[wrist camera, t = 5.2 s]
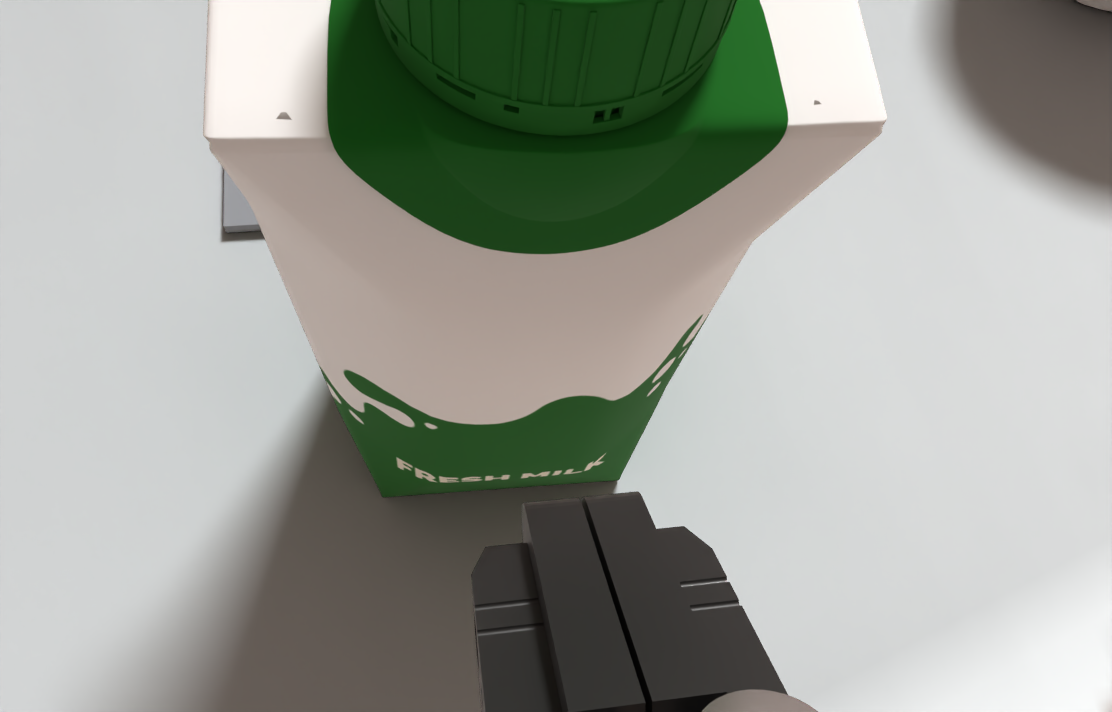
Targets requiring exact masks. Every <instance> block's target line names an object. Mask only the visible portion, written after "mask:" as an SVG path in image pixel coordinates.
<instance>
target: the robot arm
mask: <svg viewBox="0 0 1112 712" xmlns="http://www.w3.org/2000/svg"><path fill="white" fill-rule="evenodd" d="M522 536H523V543H519V544H509V545H500V546H490V547H485V549H484V551H483V553H482V555H481V557H480V559H479V561H478V563H477V565H476V566H475V568H474V570H473V572H472V574H471V577H472V592H473V607H474V621H475V636H476V651H477V665H478V677H479V687H480V697H481V707H482V712H818V711H816V710H815V709H814V708H812V707H811V706H809V705H808V704H806V703H804V702H802V701H800V700H798V699H796V698H794V697H791V696H789V695H788V694H787V692H786V690H785V688H784V686H783V684H782V682H781V681H780V679H779V677H778V675H777V673H776V671H775V669H774V667H773V665H772V663H771V661H770V659H769V657H768V655H767V654H766V652H765V650H764V648H763V646H762V644H761V642H760V640H759V638H758V636H757V634H756V632H755V630H754V628H753V627H752V625H751V623H750V621H749V619H748V617H747V615H746V613H745V611H744V609H743V607H742V606H739V600H738V598H737V596H736V594H735V592H734V590H733V588H732V586H731V584H730V582H727V576H726V574H725V573H724V571H723V569H722V567H721V565H720V563H719V561H718V559H717V557H716V555H715V553H714V551H713V549H712V548H711V547H709V546H708V545H707V544H706V543H704V542H703V541H702V540H701V539H699V538H698V537H697V536H695V535H694V534H693V533H692V532H690V531H689V530H688V529H687V528H685V527H684V526H681V527H672V528H662V529H656V528H655V525H654V523H653V521H652V518H651V516H650V514H649V512H648V509H647V507H646V505H645V502H644V500H643V498H642V496H641V494H640V493H639V492H628V493H618V494H608V495H598V496H587V497H582V499H581V500H580V499H579V498H569V499H559V500H549V501H538V502H528V503H523V504H522Z"/></svg>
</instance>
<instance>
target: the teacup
mask: <svg viewBox="0 0 1112 712" xmlns="http://www.w3.org/2000/svg"><path fill="white" fill-rule="evenodd" d="M1076 1H1078V2H1079V3H1081V4H1084V5H1087V6H1091V7H1094V8H1097V9H1101V10H1106V11H1112V0H1076Z"/></svg>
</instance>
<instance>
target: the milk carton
mask: <svg viewBox="0 0 1112 712" xmlns="http://www.w3.org/2000/svg"><path fill="white" fill-rule="evenodd" d="M886 120H887V115H886V111H885V107H884V102H883V98H882V94H881V90H880V86H879V82H878V78H877V74H876V70H875V66H874V62H873V59H872V55H871V51H870V47H869V43H868V39H867V35H866V31H865V27H864V24H863V20H862V16H861V12H860V8H859V4H858V0H208V21H207V46H206V72H205V97H204V123H203V136H204V137H205V138H206V139H207V140H208V141H209V146H210V151H211V152H212V154H213V155H214V156H215V157H216V159H217V160H218V161H219V163H220V164H221V165H222V167H223V168H224V169H225V171H226V172H227V173H228V175H229V176H230V177H231V179H232V180H233V181H234V183H235V184H236V185H237V187H238V188H239V190H240V191H241V192H242V194H243V195H244V196H245V198H246V199H247V201H248V203H249V204H250V206H251V208H252V210H253V212H254V214H255V217H256V219H257V221H258V223H259V226H260V228H261V231H262V233H263V235H264V238H265V240H266V243H267V245H268V247H269V250H270V252H271V254H272V257H273V259H274V261H275V264H276V266H277V268H278V271H279V273H280V275H281V278H282V280H283V282H284V285H285V287H286V289H287V292H288V294H289V296H290V299H291V301H292V303H293V306H294V308H295V310H296V313H297V315H298V317H299V320H300V322H301V324H302V327H303V329H304V331H305V334H306V336H307V338H308V341H309V343H310V346H311V348H312V350H313V353H314V355H315V357H316V360H317V362H318V364H319V367H320V369H321V371H322V374H323V376H324V378H325V381H326V383H327V385H328V387H329V390H330V392H331V394H332V396H333V399H334V401H335V403H336V406H337V408H338V410H339V412H340V414H341V416H342V418H343V420H344V422H345V424H346V426H347V428H348V430H349V432H350V434H351V436H352V438H353V440H354V442H355V444H356V446H357V447H358V449H359V451H360V453H361V455H362V457H363V459H364V461H365V463H366V465H367V467H368V469H369V471H370V473H371V475H372V477H373V479H374V480H375V482H376V484H377V486H378V488H379V490H380V493H381V495H382V497H395V496H409V495H422V494H436V493H450V492H464V491H477V490H491V489H505V488H519V487H532V486H546V485H560V484H574V483H587V482H601V481H615V480H619V479H620V477H621V474H622V472H623V470H624V468H625V467H626V465H627V463H628V461H629V459H630V457H631V455H632V453H633V451H634V449H635V447H636V445H637V443H638V441H639V439H640V437H641V436H642V434H643V432H644V430H645V428H646V426H647V424H648V422H649V420H650V418H651V416H652V414H653V412H654V410H655V408H656V406H657V404H658V402H659V400H660V398H661V396H662V394H663V392H664V390H665V388H666V386H667V384H668V383H669V381H670V379H671V377H672V376H673V374H674V372H675V371H676V369H677V367H678V366H679V364H680V362H681V361H682V359H683V357H684V356H685V354H686V352H687V350H688V349H689V347H690V345H691V344H692V342H693V340H694V339H695V337H696V335H697V334H698V332H699V330H700V329H701V327H702V325H703V324H704V322H705V320H706V318H707V317H708V315H709V313H710V312H711V310H712V308H713V307H714V305H715V303H716V302H717V300H718V298H719V297H720V295H721V293H722V292H723V290H724V288H725V287H726V285H727V283H728V282H729V280H730V278H731V277H732V275H733V273H734V272H735V270H736V268H737V267H738V265H739V263H740V262H741V260H742V258H743V256H744V255H745V253H746V251H747V250H748V248H749V246H750V245H751V243H752V242H753V241H754V240H755V239H756V238H757V237H759V236H760V235H761V234H762V233H763V232H765V231H766V230H767V229H768V228H769V227H770V226H772V225H773V224H774V223H775V222H776V221H778V220H779V219H780V218H781V217H782V216H784V215H785V214H786V213H787V212H788V211H790V210H791V209H792V208H793V207H794V206H796V205H797V204H798V203H799V202H800V201H801V200H803V199H804V198H805V197H806V196H807V195H809V194H810V193H811V192H812V191H813V190H815V189H816V188H817V187H818V186H819V185H821V184H822V183H823V182H824V181H825V180H827V179H828V178H829V177H830V176H831V175H833V174H834V173H835V172H836V171H837V170H839V169H840V168H841V167H842V166H843V165H845V164H846V163H847V162H848V161H849V160H851V159H852V158H853V157H854V156H855V155H856V154H858V153H859V152H860V151H861V150H862V149H864V148H865V147H866V146H867V145H868V144H869V143H871V142H872V141H873V140H874V139H875V138H877V137H878V136H879V135H880V134H881V133H882V127H883V125H884V123H885V121H886Z"/></svg>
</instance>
